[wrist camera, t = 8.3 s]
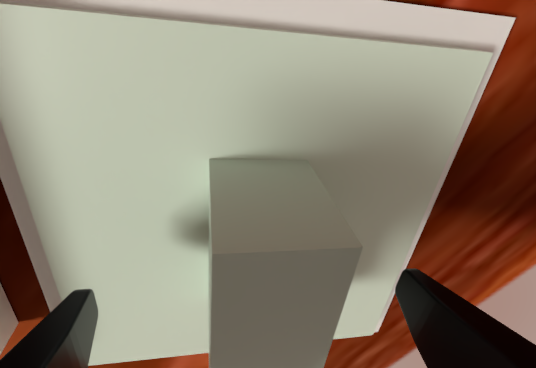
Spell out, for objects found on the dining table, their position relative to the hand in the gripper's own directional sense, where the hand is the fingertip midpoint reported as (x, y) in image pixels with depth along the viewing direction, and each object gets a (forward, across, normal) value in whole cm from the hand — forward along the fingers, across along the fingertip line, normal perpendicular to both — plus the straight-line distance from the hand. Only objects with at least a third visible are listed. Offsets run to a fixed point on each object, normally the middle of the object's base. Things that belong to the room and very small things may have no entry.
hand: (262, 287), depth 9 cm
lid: (+3, 0, 0) cm, 3 cm away
